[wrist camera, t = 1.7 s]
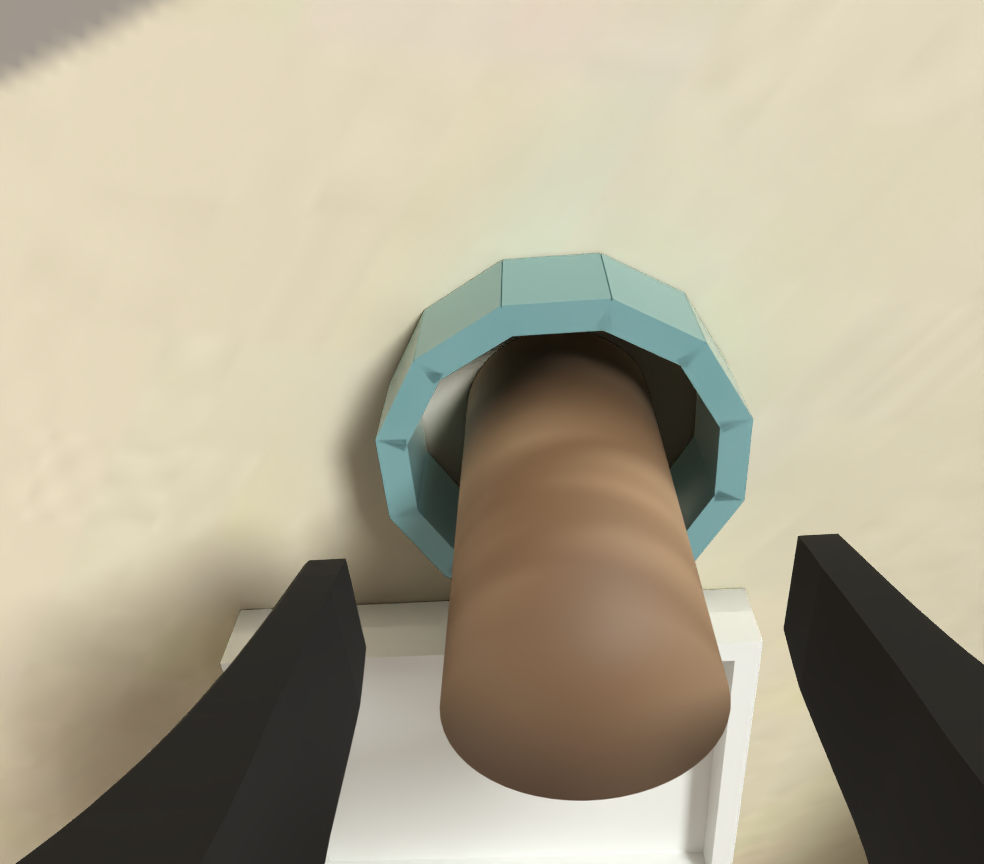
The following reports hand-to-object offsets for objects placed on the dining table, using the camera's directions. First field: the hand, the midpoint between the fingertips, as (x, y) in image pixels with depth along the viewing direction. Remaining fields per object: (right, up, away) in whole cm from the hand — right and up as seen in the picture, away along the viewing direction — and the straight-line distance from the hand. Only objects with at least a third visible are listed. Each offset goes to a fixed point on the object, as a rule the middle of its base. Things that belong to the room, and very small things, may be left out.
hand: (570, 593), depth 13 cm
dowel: (0, +3, +5) cm, 6 cm away
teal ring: (0, +3, +5) cm, 6 cm away
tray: (-1, -6, +11) cm, 12 cm away
